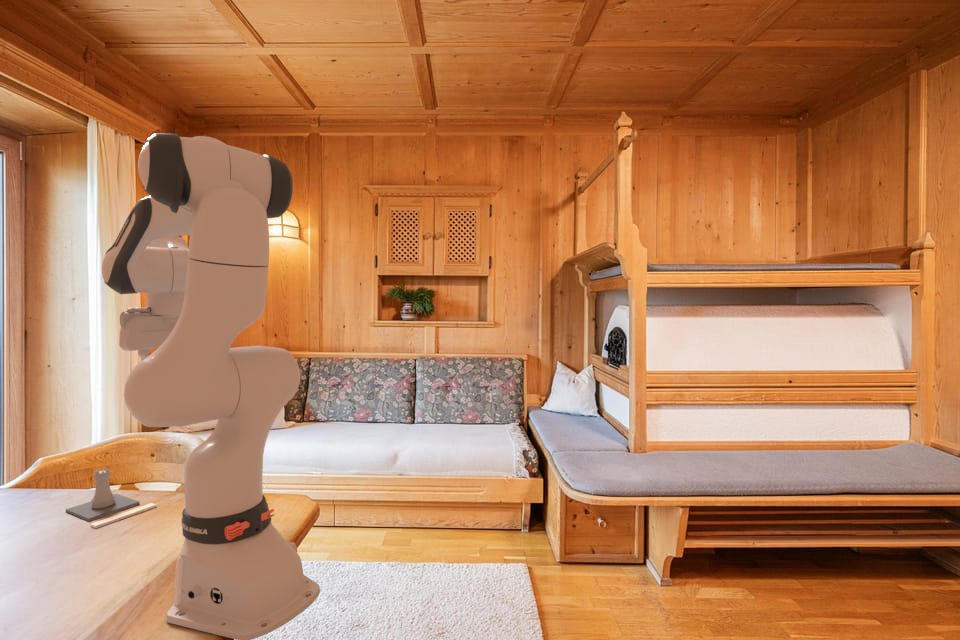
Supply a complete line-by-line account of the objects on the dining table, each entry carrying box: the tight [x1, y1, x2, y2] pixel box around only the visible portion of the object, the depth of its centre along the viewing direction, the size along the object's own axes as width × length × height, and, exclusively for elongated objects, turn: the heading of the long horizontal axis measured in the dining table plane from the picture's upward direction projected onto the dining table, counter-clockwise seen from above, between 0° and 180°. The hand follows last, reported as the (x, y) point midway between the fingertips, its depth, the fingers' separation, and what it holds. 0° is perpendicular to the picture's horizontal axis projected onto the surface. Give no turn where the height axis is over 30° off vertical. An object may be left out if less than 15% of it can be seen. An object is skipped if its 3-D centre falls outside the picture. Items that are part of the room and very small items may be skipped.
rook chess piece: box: [90, 467, 115, 509], centre depth 113 cm, size 4×4×8 cm
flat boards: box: [65, 493, 157, 529], centre depth 112 cm, size 15×12×1 cm
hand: (171, 366), depth 117 cm, fingers open, 8 cm apart
